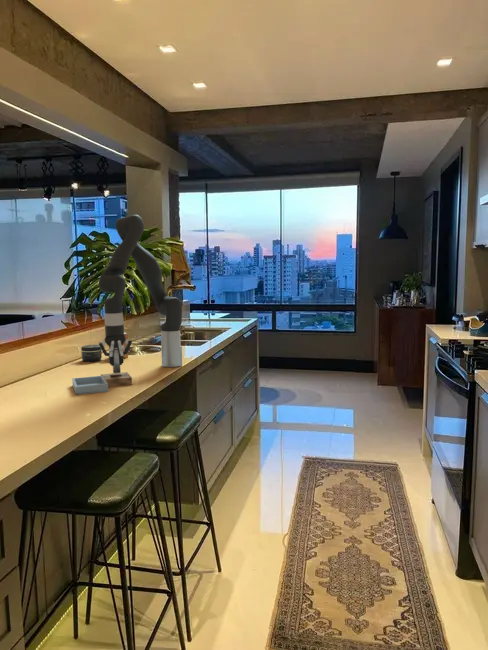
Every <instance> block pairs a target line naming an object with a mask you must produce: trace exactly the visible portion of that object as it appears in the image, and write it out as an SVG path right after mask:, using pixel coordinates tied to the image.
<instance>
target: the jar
mask: <svg viewBox="0 0 488 650" xmlns="http://www.w3.org/2000/svg"><path fill="white" fill-rule="evenodd" d="M80 349H81V350H80V351H81V360H82V362H84V363H96V362H101V360H102V357H103V354H102V353H103V351H102V349H101V348H100V346H99V344H83V345H82V346H81V347H80Z"/></svg>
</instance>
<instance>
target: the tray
mask: <svg viewBox="0 0 488 650" xmlns="http://www.w3.org/2000/svg"><path fill="white" fill-rule="evenodd" d="M72 387H73V391H74V394H75V396H78V395H86V394H88V395H89V394H99V393H107V392H109V387H108V383H107V382H106V380H105V378H104V379H103V377H102V376H101V375H97V376H83V377H82V376H81V377H73V378H72Z"/></svg>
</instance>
